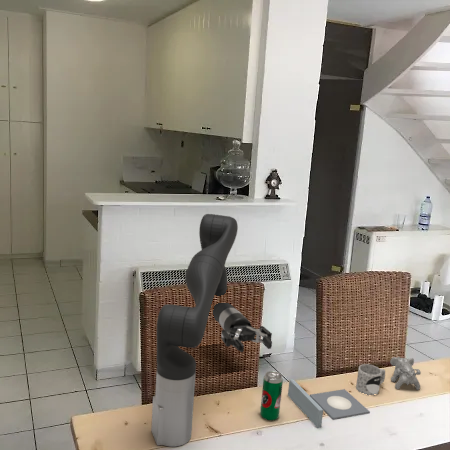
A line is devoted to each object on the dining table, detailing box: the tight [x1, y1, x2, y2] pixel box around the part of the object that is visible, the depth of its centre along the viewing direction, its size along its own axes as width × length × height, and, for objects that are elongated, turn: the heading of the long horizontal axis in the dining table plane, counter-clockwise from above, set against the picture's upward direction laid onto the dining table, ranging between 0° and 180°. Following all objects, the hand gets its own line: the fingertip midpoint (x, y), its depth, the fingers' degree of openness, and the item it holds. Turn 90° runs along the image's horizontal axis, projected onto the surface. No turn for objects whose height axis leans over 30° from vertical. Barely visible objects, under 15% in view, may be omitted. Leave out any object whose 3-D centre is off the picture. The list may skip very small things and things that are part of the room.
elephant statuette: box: [389, 356, 422, 391], centre depth 157 cm, size 9×12×8 cm
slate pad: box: [309, 388, 371, 421], centre depth 142 cm, size 12×12×1 cm
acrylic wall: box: [287, 378, 324, 429], centre depth 137 cm, size 1×16×5 cm, turn 21°
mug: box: [355, 363, 386, 396], centre depth 151 cm, size 10×7×7 cm
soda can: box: [259, 370, 284, 422], centre depth 133 cm, size 5×5×12 cm
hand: (256, 347), depth 141 cm, fingers open, 8 cm apart
